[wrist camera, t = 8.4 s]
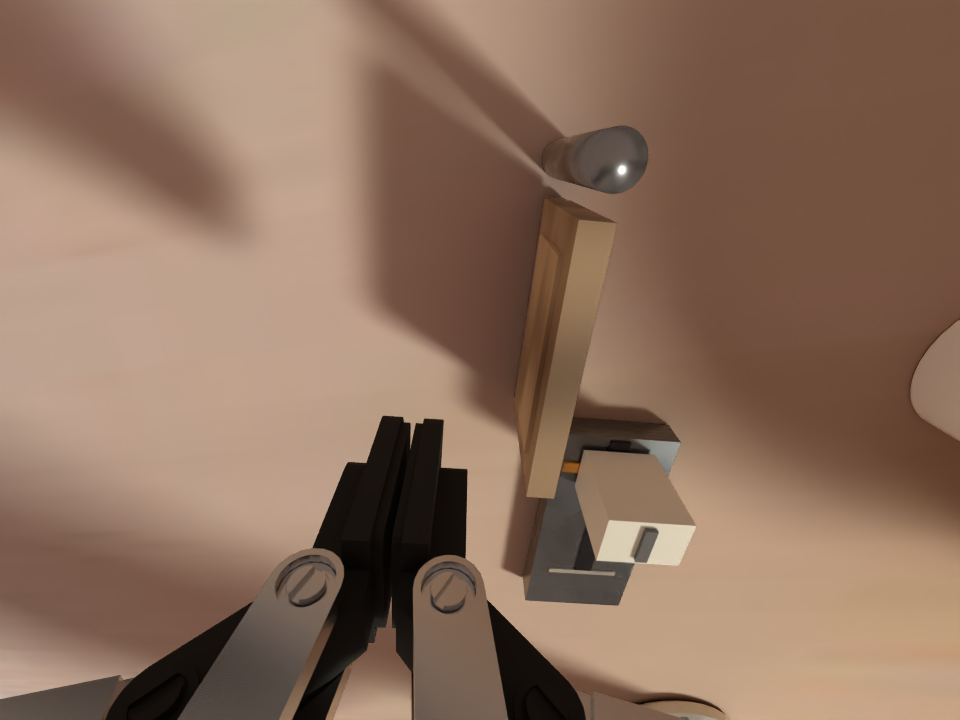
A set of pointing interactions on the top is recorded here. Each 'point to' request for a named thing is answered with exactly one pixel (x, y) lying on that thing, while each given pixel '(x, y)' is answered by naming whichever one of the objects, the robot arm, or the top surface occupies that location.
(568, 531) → the board
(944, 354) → the pill bottle
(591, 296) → the door
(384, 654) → the top surface
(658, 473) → the fader cap
